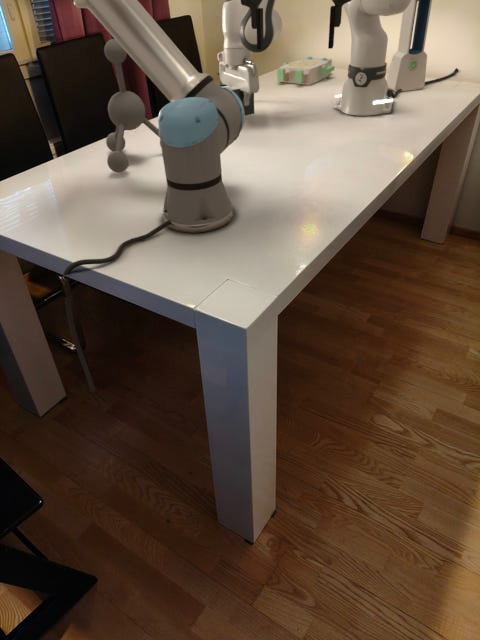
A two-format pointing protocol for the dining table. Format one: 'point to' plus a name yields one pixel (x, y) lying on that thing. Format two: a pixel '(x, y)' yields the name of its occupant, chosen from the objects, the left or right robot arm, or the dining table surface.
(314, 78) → the decorative block
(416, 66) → the electronic device
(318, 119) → the dining table surface
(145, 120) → the molecular model
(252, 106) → the box
